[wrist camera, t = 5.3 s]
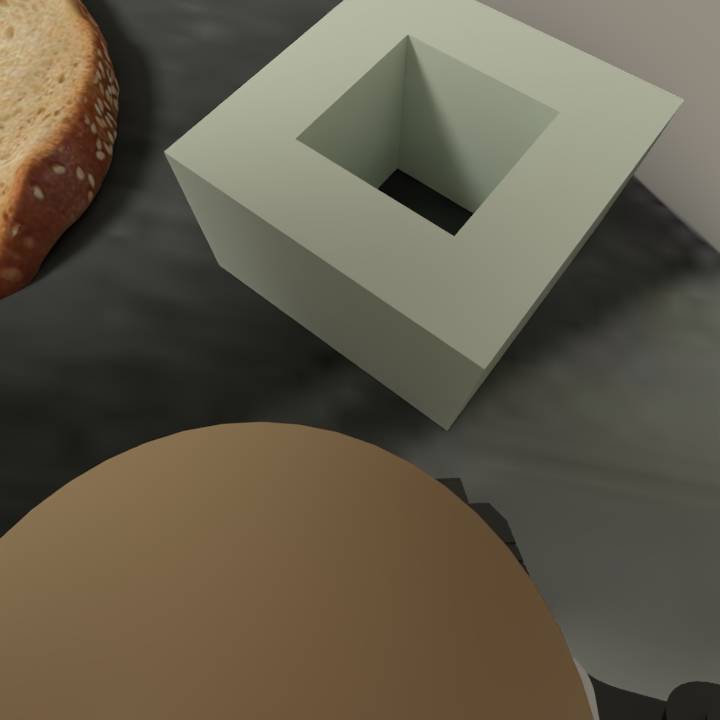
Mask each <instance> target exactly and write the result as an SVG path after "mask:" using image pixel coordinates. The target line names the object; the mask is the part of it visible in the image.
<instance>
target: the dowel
mask: <svg viewBox="0 0 720 720" xmlns="http://www.w3.org/2000/svg"><path fill="white" fill-rule="evenodd" d="M0 720H594V718H593V715H592V711H591V708H590V705H589V701H588V698H587V695H586V692H585V688H584V685H583V682H582V679H581V677H580V674H579V672H578V670H577V667H576V665H575V663H574V660H573V658H572V655H571V653H570V651H569V648H568V646H567V644H566V641H565V639H564V637H563V634H562V632H561V630H560V628H559V626H558V625H557V623H556V621H555V619H554V617H553V616H552V614H551V612H550V610H549V608H548V607H547V605H546V603H545V601H544V599H543V598H542V596H541V594H540V592H539V591H538V589H537V587H536V585H535V584H534V583H533V581H532V580H531V579H530V577H529V576H528V574H527V573H526V572H525V570H524V569H523V567H522V566H521V565H520V563H519V562H518V560H517V559H516V558H515V556H514V555H513V553H512V552H511V551H510V549H509V548H508V547H507V546H506V545H505V543H504V542H503V541H502V540H501V539H500V538H499V537H498V536H497V535H496V534H495V532H494V531H493V530H492V529H491V528H490V527H489V526H488V525H487V524H486V523H485V521H484V520H483V519H482V518H481V517H480V516H479V515H478V514H477V513H476V512H475V511H474V510H472V509H471V508H470V507H469V506H468V505H467V504H465V503H464V502H463V501H462V500H461V499H460V498H459V497H457V496H456V495H455V494H454V493H453V492H452V491H450V490H449V489H448V488H447V487H446V486H445V485H443V484H442V483H440V482H439V481H437V480H435V479H434V478H432V477H431V476H429V475H428V474H426V473H425V472H423V471H422V470H420V469H419V468H417V467H416V466H414V465H413V464H411V463H410V462H408V461H406V460H404V459H402V458H400V457H398V456H396V455H394V454H392V453H390V452H388V451H386V450H384V449H382V448H380V447H378V446H376V445H373V444H370V443H367V442H364V441H361V440H358V439H356V438H353V437H350V436H347V435H344V434H341V433H338V432H334V431H329V430H324V429H319V428H314V427H309V426H304V425H298V424H284V423H271V422H250V423H232V424H220V425H214V426H209V427H203V428H198V429H192V430H187V431H182V432H179V433H176V434H173V435H170V436H166V437H163V438H160V439H157V440H153V441H150V442H147V443H144V444H142V445H140V446H137V447H135V448H133V449H131V450H128V451H126V452H124V453H122V454H119V455H117V456H115V457H113V458H110V459H108V460H106V461H104V462H103V463H101V464H99V465H97V466H96V467H94V468H92V469H91V470H89V471H87V472H86V473H84V474H82V475H80V476H79V477H77V478H75V479H74V480H72V481H70V482H69V483H67V484H66V485H64V486H63V487H62V488H60V489H59V490H58V491H56V492H55V493H54V494H52V495H51V496H50V497H48V498H47V499H46V500H44V501H43V502H42V503H40V504H39V505H37V506H36V507H35V508H33V509H32V510H31V511H30V512H29V513H28V514H27V515H25V516H24V517H23V518H22V519H21V520H20V521H19V522H18V523H17V524H16V525H15V526H13V527H12V528H11V529H10V530H9V531H8V532H7V533H6V534H5V535H4V536H3V537H1V538H0Z"/></svg>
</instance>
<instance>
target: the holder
mask: <svg viewBox="0 0 720 720" xmlns="http://www.w3.org/2000/svg"><path fill="white" fill-rule="evenodd" d="M683 101H684V99H682V98H679V97H677V96H675V95H673V94H671V93H669V92H667V91H665V90H663V89H661V88H659V87H656V86H654V85H652V84H650V83H648V82H646V81H644V80H642V79H639V78H638V77H635V76H633V75H631V74H629V73H627V72H625V71H623V70H621V69H618V68H616V67H614V66H612V65H610V64H608V63H606V62H604V61H602V60H600V59H598V58H595V57H593V56H591V55H589V54H587V53H585V52H583V51H581V50H579V49H576V48H574V47H572V46H570V45H568V44H566V43H564V42H562V41H560V40H557V39H555V38H553V37H551V36H549V35H547V34H545V33H543V32H541V31H539V30H536V29H534V28H532V27H530V26H528V25H526V24H524V23H522V22H520V21H517V20H515V19H513V18H511V17H509V16H507V15H505V14H503V13H500V12H499V11H496V10H494V9H492V8H490V7H488V6H485V5H484V4H482V3H480V2H477V1H475V0H344V1H343V2H341V3H340V4H339V5H338V6H337V7H335V8H334V9H333V10H332V11H331V12H329V13H328V14H327V15H326V16H325V17H324V18H322V19H321V20H320V21H319V22H318V23H316V24H315V25H314V26H313V27H312V28H310V29H309V30H308V31H307V32H306V33H305V34H303V35H302V36H301V37H300V38H299V39H297V40H296V41H295V42H294V43H293V44H291V45H290V46H289V47H288V48H287V49H286V50H284V51H283V52H282V53H281V54H280V55H278V56H277V57H276V58H275V59H274V60H272V61H271V62H270V63H269V64H268V65H267V66H265V67H264V68H263V69H262V70H261V71H259V72H258V73H257V74H256V75H255V76H253V77H252V78H251V79H250V80H249V81H248V82H246V83H245V84H244V85H243V86H242V87H240V88H239V89H238V90H237V91H236V92H234V93H233V94H232V95H231V96H230V97H229V98H227V99H226V100H225V101H224V102H223V103H221V104H220V105H219V106H218V107H217V108H215V109H214V110H213V111H212V112H211V113H210V114H208V115H207V116H206V117H205V118H204V119H202V120H201V121H200V122H199V123H198V124H196V125H195V126H194V127H193V128H192V129H191V130H189V131H188V132H187V133H186V134H185V135H183V136H182V137H181V138H180V139H179V140H177V141H176V142H175V143H174V144H173V145H172V146H170V147H169V148H168V149H167V150H166V151H164V153H165V155H166V157H167V159H168V161H169V163H170V165H171V167H172V170H173V172H174V174H175V176H176V178H177V180H178V182H179V184H180V186H181V188H182V190H183V192H184V194H185V196H186V198H187V200H188V202H189V204H190V206H191V208H192V210H193V212H194V215H195V217H196V219H197V221H198V223H199V225H200V227H201V229H202V231H203V233H204V235H205V237H206V239H207V241H208V243H209V245H210V247H211V249H212V251H213V253H214V255H215V257H216V260H217V262H218V264H219V265H220V266H221V267H222V268H224V269H225V270H226V271H228V272H229V273H231V274H232V275H233V276H235V277H236V278H237V279H239V280H240V281H242V282H243V283H244V284H246V285H247V286H248V287H250V288H251V289H253V290H254V291H255V292H257V293H258V294H259V295H261V296H262V297H264V298H265V299H266V300H268V301H269V302H270V303H272V304H273V305H275V306H276V307H277V308H279V309H280V310H281V311H283V312H284V313H286V314H287V315H288V316H290V317H291V318H292V319H294V320H295V321H297V322H298V323H299V324H301V325H302V326H303V327H305V328H306V329H308V330H309V331H310V332H312V333H313V334H314V335H316V336H317V337H319V338H320V339H321V340H323V341H324V342H325V343H327V344H328V345H330V346H331V347H332V348H334V349H335V350H336V351H338V352H339V353H341V354H342V355H343V356H345V357H346V358H347V359H349V360H350V361H352V362H353V363H354V364H356V365H357V366H358V367H360V368H361V369H363V370H364V371H365V372H367V373H368V374H369V375H371V376H372V377H374V378H375V379H376V380H378V381H379V382H380V383H382V384H383V385H385V386H386V387H387V388H389V389H390V390H391V391H393V392H394V393H396V394H397V395H398V396H400V397H401V398H402V399H404V400H405V401H407V402H408V403H409V404H411V405H412V406H413V407H415V408H416V409H418V410H419V411H420V412H422V413H423V414H424V415H426V416H427V417H429V418H430V419H431V420H433V421H434V422H435V423H437V424H438V425H440V426H441V427H442V428H444V429H445V430H446V431H448V429H449V428H450V427H451V425H452V424H453V423H454V421H455V420H456V418H457V417H458V416H459V414H460V413H461V412H462V410H463V409H464V408H465V406H466V405H467V403H468V402H469V401H470V399H471V398H472V397H473V395H474V394H475V393H476V391H477V390H478V388H479V387H480V386H481V384H482V383H483V382H484V380H485V379H486V378H487V376H488V375H489V373H490V372H491V371H492V369H493V368H494V367H495V365H496V364H497V363H498V361H499V360H500V359H501V357H502V356H503V354H504V353H505V352H506V350H507V349H508V348H509V346H510V345H511V344H512V342H513V341H514V339H515V338H516V337H517V335H518V334H519V333H520V331H521V330H522V329H523V327H524V326H525V324H526V323H527V322H528V320H529V319H530V318H531V316H532V315H533V314H534V312H535V311H536V309H537V308H538V307H539V305H540V304H541V303H542V301H543V300H544V299H545V297H546V296H547V294H548V293H549V292H550V290H551V289H552V288H553V286H554V285H555V284H556V282H557V281H558V280H559V278H560V277H561V275H562V274H563V273H564V271H565V270H566V269H567V267H568V266H569V265H570V263H571V262H572V260H573V259H574V258H575V256H576V255H577V254H578V252H579V251H580V250H581V248H582V247H583V245H584V244H585V243H586V241H587V240H588V239H589V237H590V236H591V235H592V233H593V232H594V230H595V229H596V228H597V226H598V225H599V224H600V222H601V221H602V219H603V218H604V216H605V215H606V213H607V212H608V211H609V209H610V208H611V206H612V205H613V203H614V202H615V200H616V199H617V197H618V196H619V194H620V193H621V192H622V190H623V189H624V187H625V186H626V184H627V183H628V181H629V180H630V178H631V177H632V175H633V174H634V173H635V171H636V170H637V168H638V167H639V165H640V164H641V162H642V161H643V159H644V158H645V156H646V155H647V154H648V152H649V151H650V149H651V148H652V146H653V145H654V143H655V142H656V140H657V139H658V137H659V136H660V135H661V133H662V131H663V130H664V129H665V127H666V126H667V124H668V123H669V121H670V120H671V118H672V117H673V116H674V114H675V113H676V111H677V110H678V108H679V107H680V105H681V104H682V102H683ZM397 168H398V169H399V170H401V171H403V172H404V173H406V174H408V175H410V176H411V177H413V178H415V179H416V180H418V181H420V182H421V183H423V184H425V185H426V186H428V187H430V188H431V189H433V190H435V191H436V192H438V193H440V194H441V195H443V196H445V197H447V198H448V199H450V200H452V201H453V202H455V203H457V204H458V205H460V206H462V207H463V208H465V209H467V210H468V211H470V212H472V213H473V215H472V216H471V217H470V219H469V220H468V221H467V222H466V223H465V225H464V226H463V227H462V228H461V229H460V230H459V232H458V233H457V234H456V235H455V236H453V235H451V234H449V233H448V232H446V231H445V230H443V229H441V228H440V227H438V226H436V225H435V224H433V223H432V222H430V221H428V220H427V219H425V218H423V217H422V216H420V215H419V214H417V213H415V212H414V211H412V210H410V209H409V208H407V207H405V206H404V205H402V204H401V203H399V202H397V201H396V200H394V199H392V198H391V197H389V196H388V195H386V194H384V193H383V192H381V191H379V190H378V188H379V187H380V186H381V185H382V184H383V183H384V182H385V181H386V180H387V179H388V178H389V176H390V175H391V174H392V173H393V172H394V171H395V170H396V169H397Z"/></svg>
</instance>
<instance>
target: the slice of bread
mask: <svg viewBox="0 0 720 720" xmlns="http://www.w3.org/2000/svg"><path fill="white" fill-rule="evenodd" d="M118 95H119V85H118V82H117V79H116V76H115V72H114V68H113V65H112V62H111V59H110V56H109V54H108V46H107V43H106V40H105V38H104V37H103V35H102V33H101V31H100V29H99V27H98V24H97V23H96V22H95V20H94V19H93V17H92V16H91V15H90V13H89V11H88V10H87V8H86V7H85V6H84V4H83V3H82V2H81V0H0V299H2V298H4V297H6V296H8V295H10V294H13V293H15V292H16V291H18V290H20V289H22V288H23V287H25V286H26V285H27V284H28V283H29V282H31V281H32V280H33V278H34V277H35V276H36V275H37V273H38V271H39V268H40V265H41V263H42V262H43V260H44V258H45V257H46V256H47V254H48V253H49V251H50V250H51V249H52V247H53V246H54V244H55V243H56V242H57V241H58V239H59V238H60V237H61V235H62V234H63V233H64V232H65V231H66V230H67V229H68V228H69V227H70V226H71V225H72V224H73V223H75V222H76V221H77V220H78V219H79V218H80V217H81V216H82V214H83V213H84V212H85V211H86V209H87V208H88V207H89V205H90V204H91V202H92V201H93V199H94V197H95V196H96V194H97V193H98V191H99V189H100V188H101V186H102V184H103V181H104V179H105V177H106V174H107V172H108V170H109V167H110V165H111V162H112V155H113V146H114V142H115V140H116V136H117V116H118V110H119V105H118Z"/></svg>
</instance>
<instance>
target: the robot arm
mask: <svg viewBox="0 0 720 720" xmlns="http://www.w3.org/2000/svg"><path fill="white" fill-rule="evenodd" d="M435 480H437V481H439V482H440V483H442V484H443V485H445V486H446V487H447V488H448V489H449V490H450V491H452V492H453V493H454V494H455V495H456V496H457V497H459V498H460V499H461V500H462V501H463V502H464V503H465V504H467V505H468V506H469V507H470V508H471V509H472V510H474V511H475V512H476V513H477V514H478V515H479V516H480V517H481V518H482V519H483V520H484V521H485V523H486V524H487V525H488V526H489V527H490V528H491V529H492V530H493V531H494V532H495V534H496V535H497V536H498V537H499V538H500V539H501V540H502V541H503V542H504V543H505V545H506V546H507V547H508V548H509V549H510V551H511V552H512V553H513V555H514V556H515V558H516V559H517V560H518V562H519V563H520V565H521V566H522V567H523V569H524V570H525V572H526V573H527V574H528V576H529V573H528V571H527V569H526V566H525V565H524V564H523V559H522V557H521V554H520V552H519V549H518V547H517V546H516V542H515V540H514V537H513V535H512V532H511V530H510V528H509V525H508V523H507V521H506V520H505V519H504V518H503V517H502V516H501V515H500V514H499V513H498V512H497V511H496V510H495V509H494V508H493V507H492V506H491V505H490V504H489V503H476V504H469V503H468V500H467V497H466V494H465V491H464V488H463V485H462V482H461V480H460V478H445V479H435ZM529 577H530V576H529ZM530 579H531V578H530ZM572 658H573V660H574V663H575V665H576V667H577V670H578V672H579V674H580V677H581V679H582V682H583V685H584V688H585V692H586V695H587V698H588V701H589V705H590V708H591V711H592V715H593V718H594V720H720V685H718V684H714V683H709V682H698V681H697V682H688V683H685V684H682V685H680V686H678V687H677V688H675V689H674V690H673V691H672V692H671V694H670V695H669V698H668V700H667V702H666V701H663V700H659V699H655V698H652V697H648V696H644V695H641V694H637V693H633V692H630V691H626V690H622V689H619V688H616V687H613V686H610V685H607V684H605V683H603V682H601V681H599V680H597V679H595V678H594V677H592V676H590V675H588V674H587V673H586V672H585V670H584V669H583V667H582V666H581V665H580V664H579V662H578V661H577V660H576V659H575V658H574V657H572Z"/></svg>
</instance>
